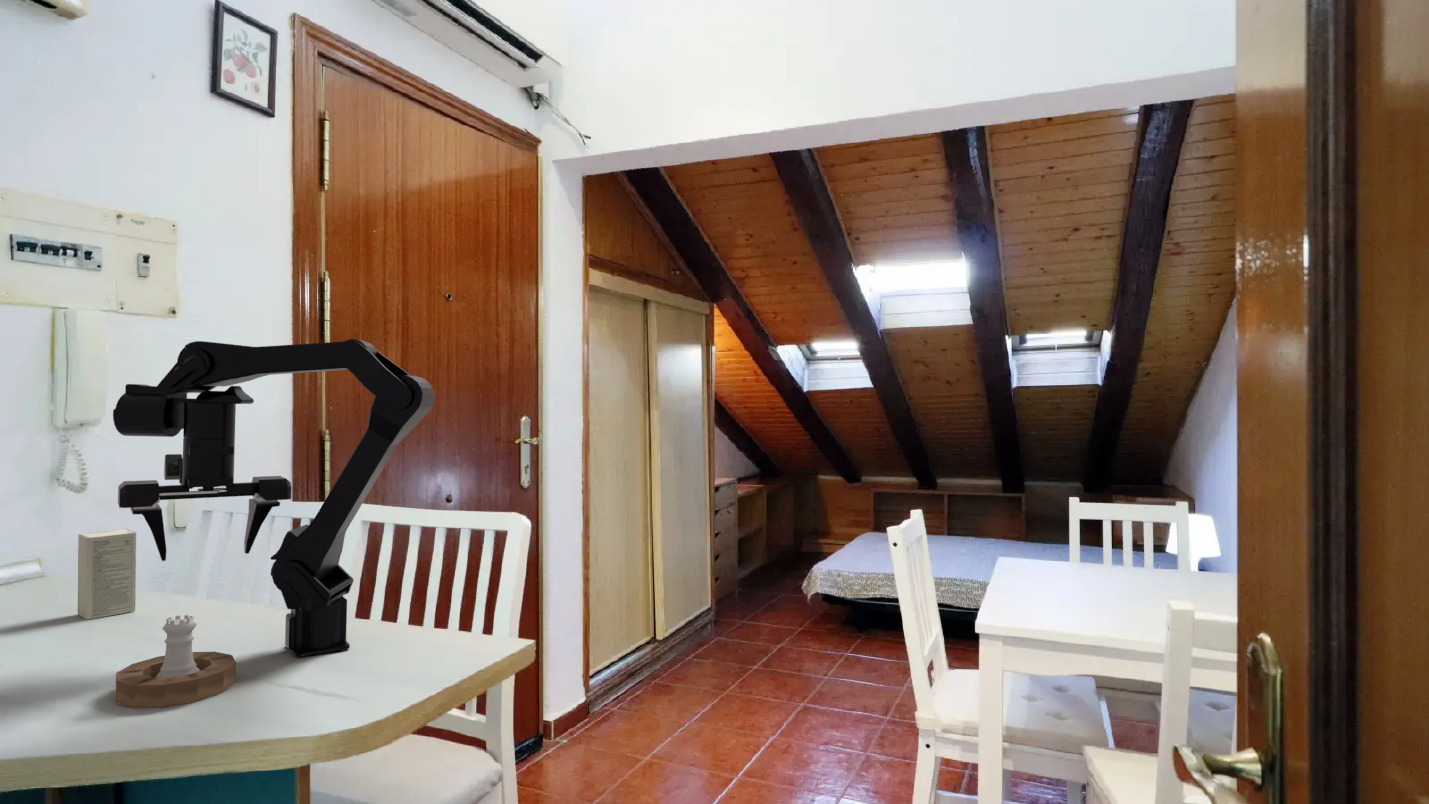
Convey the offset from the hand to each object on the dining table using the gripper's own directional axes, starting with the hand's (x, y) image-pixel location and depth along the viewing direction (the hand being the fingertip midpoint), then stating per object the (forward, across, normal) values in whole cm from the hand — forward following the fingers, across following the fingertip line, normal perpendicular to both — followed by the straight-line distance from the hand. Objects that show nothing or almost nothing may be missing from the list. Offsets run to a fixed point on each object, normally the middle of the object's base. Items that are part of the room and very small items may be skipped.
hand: (206, 556), depth 103 cm
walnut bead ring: (+12, +4, +15) cm, 19 cm away
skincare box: (+12, +10, -26) cm, 31 cm away
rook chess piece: (+12, +4, +15) cm, 20 cm away
